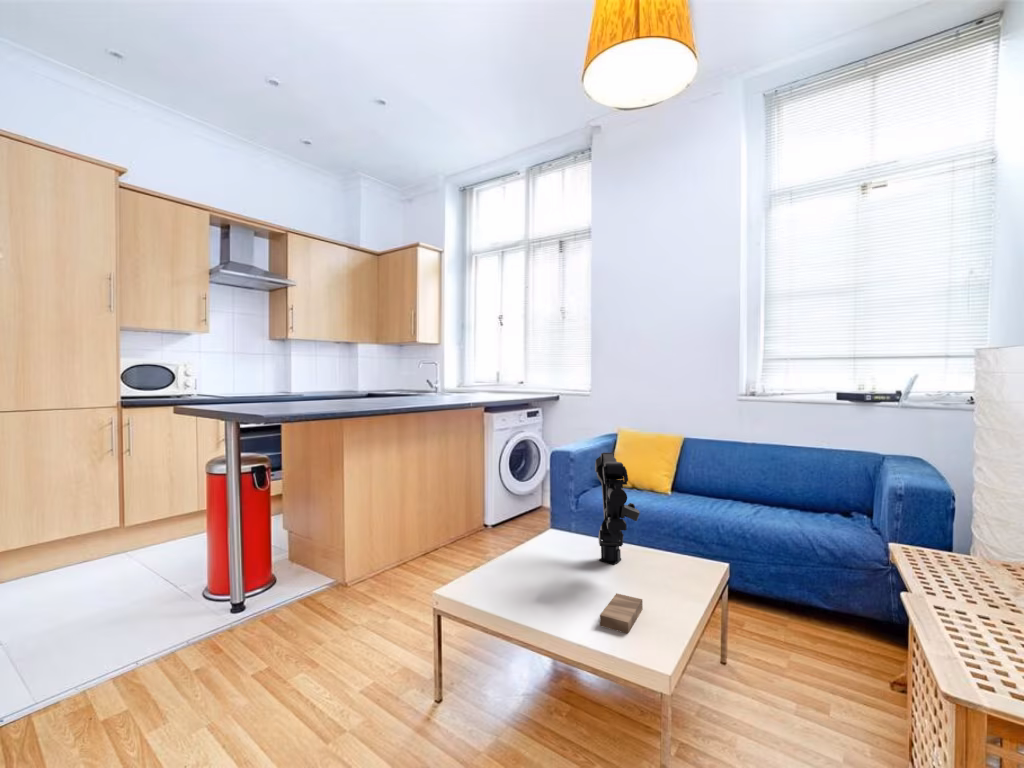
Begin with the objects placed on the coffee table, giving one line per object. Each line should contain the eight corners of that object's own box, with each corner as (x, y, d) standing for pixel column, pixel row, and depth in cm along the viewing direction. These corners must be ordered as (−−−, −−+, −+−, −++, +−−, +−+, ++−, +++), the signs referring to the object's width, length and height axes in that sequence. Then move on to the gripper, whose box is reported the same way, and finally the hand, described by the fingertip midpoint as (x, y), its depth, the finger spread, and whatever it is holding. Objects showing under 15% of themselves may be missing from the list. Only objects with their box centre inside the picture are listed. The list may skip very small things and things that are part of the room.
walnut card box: (616, 593, 137) (600, 615, 125) (642, 599, 133) (628, 622, 120) (616, 604, 137) (600, 627, 125) (642, 610, 133) (628, 635, 120)
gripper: (641, 506, 146) (642, 553, 146) (634, 492, 165) (634, 534, 165) (607, 505, 148) (608, 552, 148) (603, 492, 167) (604, 533, 166)
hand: (615, 542), depth 157 cm, fingers closed
